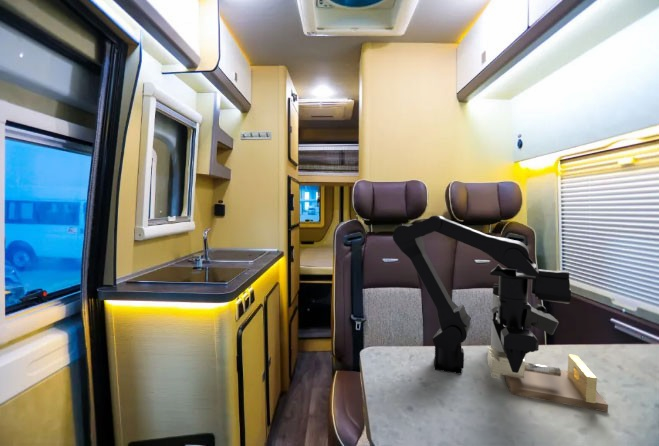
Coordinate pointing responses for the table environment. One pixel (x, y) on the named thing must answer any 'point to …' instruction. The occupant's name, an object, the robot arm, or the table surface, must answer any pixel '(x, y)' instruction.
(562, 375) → the copper board
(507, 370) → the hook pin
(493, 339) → the travel mug
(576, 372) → the gold slab
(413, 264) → the robot arm
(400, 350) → the table surface
